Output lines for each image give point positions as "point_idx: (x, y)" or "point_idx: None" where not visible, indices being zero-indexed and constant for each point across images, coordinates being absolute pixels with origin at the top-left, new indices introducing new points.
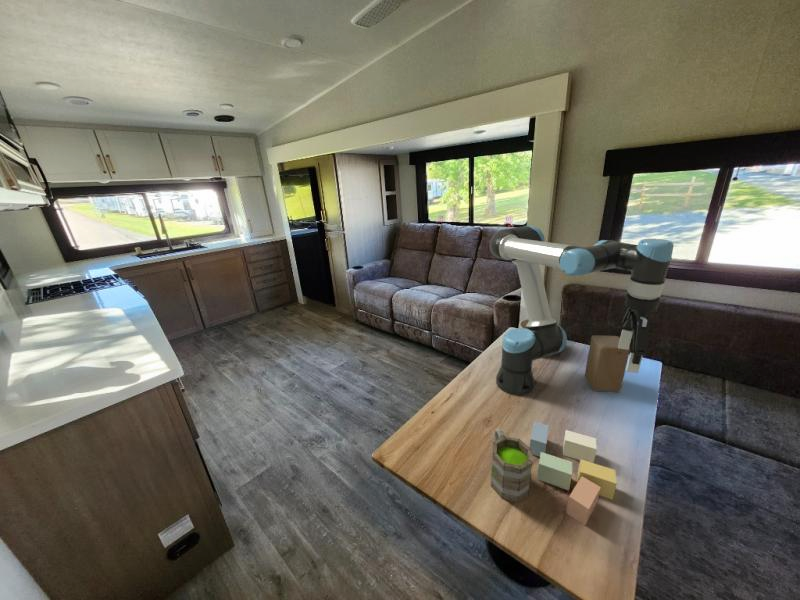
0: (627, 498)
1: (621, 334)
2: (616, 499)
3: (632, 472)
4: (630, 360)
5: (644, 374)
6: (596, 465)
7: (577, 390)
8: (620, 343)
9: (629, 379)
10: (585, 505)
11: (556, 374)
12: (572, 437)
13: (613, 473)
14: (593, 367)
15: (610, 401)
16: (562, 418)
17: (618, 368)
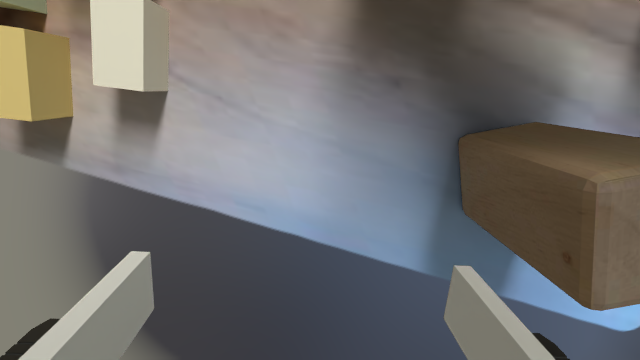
0: (53, 144)
1: (534, 352)
2: None
3: (141, 172)
4: (73, 315)
5: None
6: (22, 73)
7: (452, 88)
8: (473, 295)
9: None
10: None
11: (542, 24)
12: (113, 15)
13: (15, 114)
14: (528, 143)
15: (413, 178)
16: (288, 20)
17: (512, 229)
